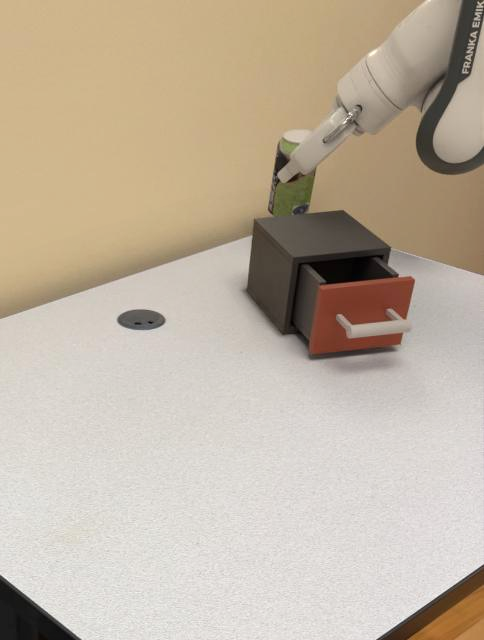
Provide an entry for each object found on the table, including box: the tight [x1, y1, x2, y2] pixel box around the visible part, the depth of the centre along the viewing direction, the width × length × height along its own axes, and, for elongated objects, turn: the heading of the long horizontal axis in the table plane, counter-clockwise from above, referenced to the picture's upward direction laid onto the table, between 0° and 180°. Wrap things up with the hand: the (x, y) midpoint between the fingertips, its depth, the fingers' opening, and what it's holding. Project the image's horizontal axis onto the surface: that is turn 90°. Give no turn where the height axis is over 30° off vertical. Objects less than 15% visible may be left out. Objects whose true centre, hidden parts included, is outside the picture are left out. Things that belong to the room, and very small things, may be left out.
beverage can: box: [267, 128, 318, 217], centre depth 132 cm, size 6×7×12 cm
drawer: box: [291, 255, 416, 355], centre depth 106 cm, size 18×11×8 cm, turn 8°
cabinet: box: [246, 209, 392, 335], centre depth 115 cm, size 15×12×10 cm
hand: (287, 171), depth 131 cm, fingers closed on beverage can, 5 cm apart
